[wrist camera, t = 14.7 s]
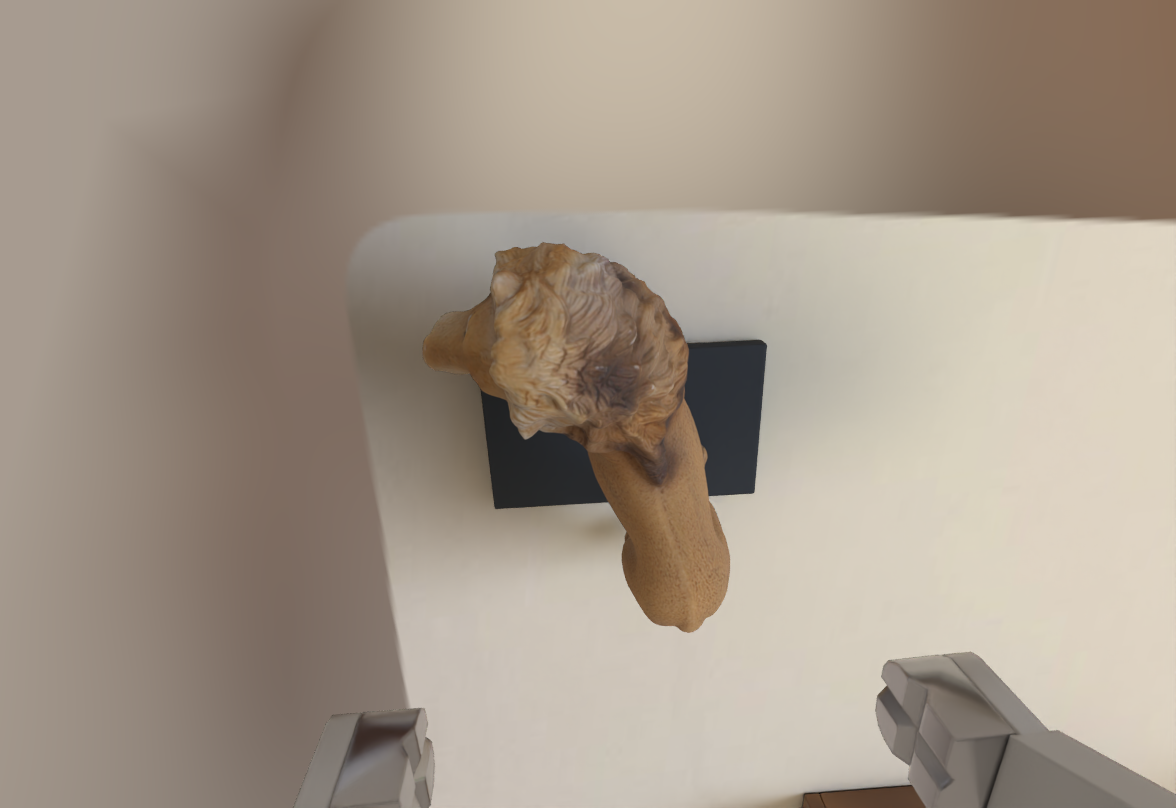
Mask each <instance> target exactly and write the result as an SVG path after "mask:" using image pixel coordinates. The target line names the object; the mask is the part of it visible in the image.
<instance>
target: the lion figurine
mask: <svg viewBox="0 0 1176 808" xmlns="http://www.w3.org/2000/svg"><path fill="white" fill-rule="evenodd" d="M495 257H496V265H495V268H494V271H493V278H492V282H491V287H490V291H491V293H490V294H489V296H488V297H487V298H486V299H485V300H484V301H483V302H481V303H480V304H478V305H477V306H475V307H474V308H472V309H471V310H468V311H464V312H449V313H446V314H444V315H442V316H441V317H440V318H439V320H438V321H437V322H436V324H435V325H434V327H433V329H432V331H431V333H430V334H429V335H428V336H427V337H426V338H425V340H424V342H423V359H424V361H425V363H426V364H427V365H428V366H429V367H430V368H432V369H434V370H435V371H446V372H449V373H453V374H459V375H463V374H471V376H472V378H473V380H474V381H475V382H476V383H477V384H478V386H479V387H480V389H481V390H482V391H484V392H485V393H487V394H489V395H492V396H495V397H499V398H502V399H504V400H506V401H507V402H508V406H509V411H510V418H511V420H512V422H513V424H514V425H515V426H516V427H518V431H519V433H520V434H521V436H522V437H523V438H524V439H525V440H526V439H528V438H530V437H532V436H533V435H534V434H535V433H536V432H537V431H538V430H541V431H542V432H553V433H561V434H564V435H566V436H567V437H569V438H570V439H572V440H575V441H577V442H578V443H580V444H581V445H583V446H584V448H585V449H586V450H587V451H588V456H589V459H590V462H591V465H592V468H593V471H594V474H595V476H596V479H597V481H598V483H599V485H600V487H601V489H602V491H603V493H604V495H605V497H606V499H607V500H608V502H609V504H610V505H611V507H612V509H613V510H614V512H615V514H616V515H617V517H618V519H619V520H620V522H621V523H622V525H623V526H624V528H625V529H626V531H627V533H626V535H625V543H624V546H623V551H622V565H623V570H624V575H625V578H626V581H627V584H628V586H629V588H630V590H631V591H632V593H633V595H634V597H635V598H636V600H637V602H638V604H639V605H640V607H641V608H642V610H643V612H644V613H645V615H646V616H647V617H648V618H649V619H650V620H651V621H652V622H653V623H655V624H658V625H662V626H676V627H678V628H679V629H680V630H682V631H683V632H688V633H690V632H693V631H695V630H697V629H698V628H699V627H700V626H701V625H702V623H703V621H704V620H705V619H706V618H707V617H709V616H711V615H713V614H714V613H715V612H716V611H717V609H718V608H719V606H720V605H721V603H722V601H723V599H724V598H725V595H726V592H727V587H728V581H729V573H730V555H729V549H728V546H727V542H726V538H725V536H724V533H723V531H722V527H721V524H720V522H719V519H718V517H717V514H716V511H715V509H714V507H713V506H712V504H711V503H710V502H709V496H708V488H707V482H706V475H705V469H704V467H705V463H706V461H707V451H706V449H705V447H704V446H702V445H701V442H700V439H699V435H698V432H697V429H696V426H695V422H694V420H693V417H692V414H691V412H690V409H689V407H688V405H687V403H686V401H685V399H684V393H685V388H684V385H685V383H686V380H687V372H688V356H689V349H688V345H687V343H686V342H685V338H684V336H683V334H682V331H681V328H680V327H679V325H678V323H677V321H676V320H675V319H674V318H672V317H671V316H670V314H669V312H668V310H667V308H666V306H665V303H664V301H663V299H662V298H661V297H660V296H658V295H656V294H655V293H653V292H652V291H651V290H650V289H648V287H647V286H646V284H645V282H644V281H642V280H639V279H638V278H635V276H634V275H633V274H631V273H630V272H629V271H628V270H627V268H625V267H624V266H622V265H620V264H618V263H616V262H612V263H610V262H609V260H608V259H607V258H605V257H604V256H601V255H600V254H596V253H587V254H582V253H579V252H577V251H575V250H571V249H570V248H568V247H567V246H566V245H565V244H558V245H557V244H552V243H544V242H543V243H541V244H540V245H539V246H538V247H529V248H524V249H521V248H518V247H513V248H512V249H509V250H506V251H498V252H496V253H495Z"/></svg>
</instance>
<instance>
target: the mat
mask: <svg viewBox="0 0 1176 808" xmlns="http://www.w3.org/2000/svg"><path fill="white" fill-rule="evenodd" d="M687 345H688V349H689V356H688V372H687V380H686V383H685V385H684V388H685V393H684V399H685V401H686V403H687V405H688V407H689V409H690V412H691V414H692V417H693V420H694V422H695V426H696V429H697V432H698V435H699V439H700V442H701V445H702V446H704V447H705V449H706V451H707V461H706V463H705V467H704V469H705V475H706V482H707V488H708V496H718V495H735V494H752V493H754V490H755V479H756V467H757V455H758V443H759V431H760V420H761V408H762V396H763V384H764V373H765V361H766V349H767V345H766V343H764V342H763V341H762V340H751V341H732V342H712V343H693V344H687ZM481 396H482V404H483V413H484V422H485V430H486V439H487V447H488V456H489V464H490V473H491V481H492V490H493V498H494V507H495V509H503V508H519V507H536V506H553V505H569V504H586V503H602V502H608V500H607V499H606V497H605V495H604V493H603V491H602V489H601V487H600V485H599V483H598V481H597V479H596V476H595V474H594V471H593V468H592V465H591V462H590V459H589V456H588V451H587V450H586V449H585V448H584V446H583V445H581V444H580V443H578V442H577V441H575V440H572V439H570V438H569V437H567V436H566V435H564V434H561V433H553V432H542V431H541V430H538V431H537V432H536V433H535V434H534V435H533V436H532V437H530V438H528V439H526V440H525V439H524V438H523V437H522V436H521V434H520V433H519V431H518V427H516V426H515V425H514V424H513V422H512V420H511V418H510V411H509V406H508V402H507V401H506V400H504V399H502V398H499V397H495V396H492V395H489V394H487V393H485V392H484V391H482V390H481Z"/></svg>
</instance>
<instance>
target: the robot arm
mask: <svg viewBox="0 0 1176 808" xmlns="http://www.w3.org/2000/svg"><path fill="white" fill-rule="evenodd" d="M881 677H882V679H883V680H884V682H885V683H886V684H887V686H886V687H885V688H884V689H883V690H882V691H881V692H880V693H879V694H878V695H877V702H876V709H875V711H876V716H877V721H878V726H879V729H880V731H881V734H882V736H883V738H884V740H885V742H886V744H887V745H888V747H889V749H890V750H891V752H892V754H894V755H895V756H896V757H898V758H899V759H901V760H902V761H904V762H905V763H906V764H908V765H909V772H908V780H909V781H910V783H911V784H912V786H913V788H914V789H915V791H916V792H917V794H918V796H919V797H920V799H921V800H922V802H923V804H924V805H925V807H926V808H1176V794H1174V793H1172V792H1170V791H1168V790H1167V789H1165V788H1163V787H1161V786H1159V785H1157V784H1156V783H1154V782H1152V781H1150V780H1148V779H1146V778H1145V777H1143V776H1141V775H1139V774H1137V773H1135V772H1134V771H1132V770H1130V769H1128V768H1126V767H1124V766H1123V765H1121V764H1119V763H1117V762H1115V761H1113V760H1112V759H1110V758H1108V757H1106V756H1104V755H1102V754H1101V753H1099V752H1097V751H1095V750H1093V749H1091V748H1090V747H1088V746H1086V745H1084V744H1082V743H1080V742H1079V741H1077V740H1075V739H1073V738H1071V737H1069V736H1068V735H1066V734H1064V733H1062V732H1060V731H1058V730H1056V731H1049V730H1048V729H1047V728H1046V727H1045V726H1044V725H1043V724H1042V723H1041V722H1040V720H1039V719H1038V718H1037V717H1036V716H1035V715H1034V714H1033V713H1032V712H1031V711H1030V710H1029V709H1028V708H1027V707H1026V706H1025V704H1024V703H1023V702H1022V701H1021V700H1020V699H1019V698H1018V697H1017V696H1016V695H1015V694H1014V693H1013V692H1012V691H1011V690H1010V688H1009V687H1008V686H1007V685H1006V684H1005V683H1004V682H1003V681H1002V680H1001V679H1000V678H999V677H998V676H997V675H996V674H995V673H994V671H993V670H992V669H991V668H990V667H989V666H988V665H987V664H986V663H985V662H984V661H983V660H982V659H981V658H980V657H979V656H978V655H976V654H974V653H972V652H963V653H953V654H944V655H931V656H922V657H913V658H905V659H896V660H888V661H887V663H886V664H885V665H884V666H883V670H882V675H881ZM427 726H428V720H427V716H426V712H425V709H424V708H413V709H399V710H387V711H372V712H363V713H350V714H338V715H332V716H331V718H330V719H329V721H328V722H327V723H326V724H325V727H324V729H323V732H322V734H321V737H320V739H319V742H318V745H317V747H316V750H315V752H314V755H313V757H312V760H311V762H310V765H309V768H308V770H307V773H306V775H305V778H304V780H303V783H302V786H301V788H300V791H299V793H298V796H297V798H296V801H295V803H294V806H293V808H429V806H430V805H431V800H432V793H433V787H434V770H435V763H434V750H433V745H432V741H430V740H429V739H428V738H427V737H426V731H427Z"/></svg>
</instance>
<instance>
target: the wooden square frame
mask: <svg viewBox="0 0 1176 808" xmlns="http://www.w3.org/2000/svg"><path fill="white" fill-rule="evenodd" d="M803 808H926V807H925V805H924V804H923V802H922V800H921V799H920V797H919V796H918V794H917V792H916V791H915V789H914V788H913V786H906V787H893V788H880V789H867V790H855V791H842V792H829V793H820V795H819V794H818V793H815V794H805V796H804V802H803Z"/></svg>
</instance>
